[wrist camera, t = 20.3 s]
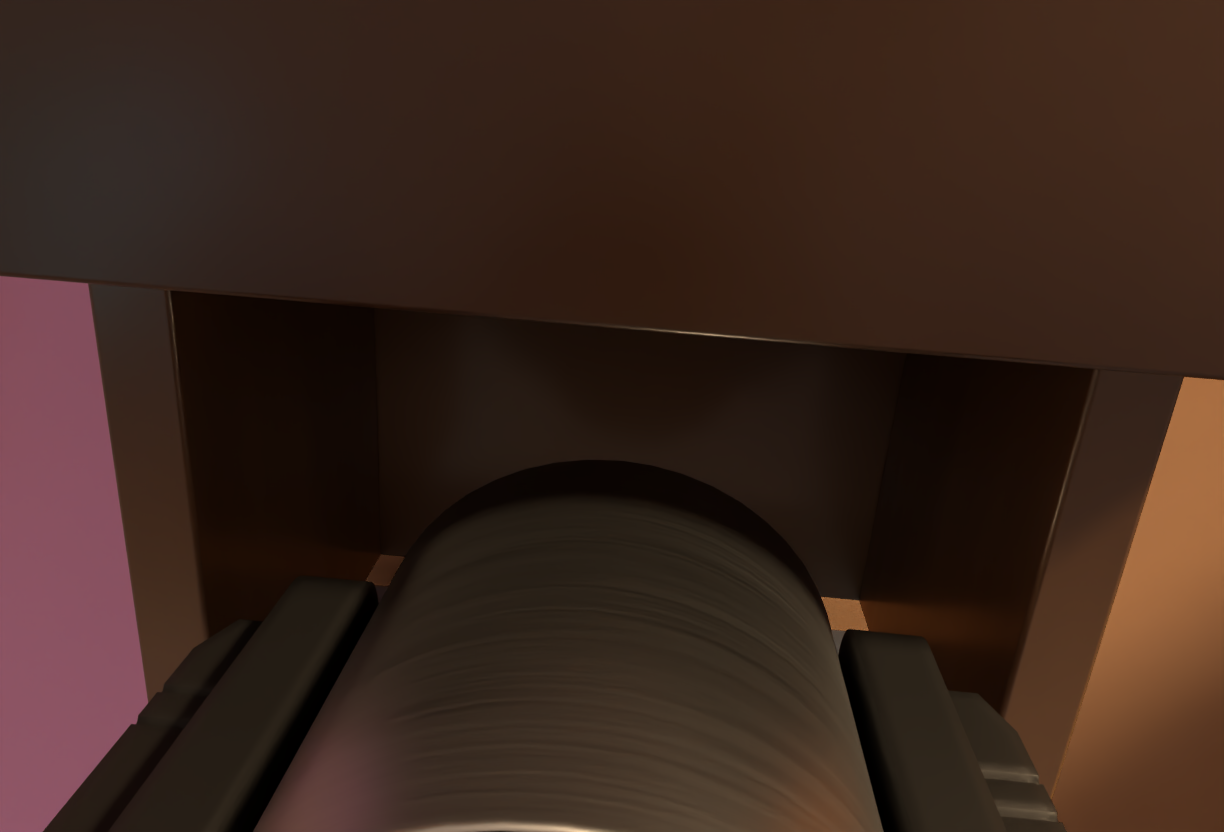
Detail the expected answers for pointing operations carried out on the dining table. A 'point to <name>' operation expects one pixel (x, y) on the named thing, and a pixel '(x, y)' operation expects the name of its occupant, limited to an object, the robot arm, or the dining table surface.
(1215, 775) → the dining table surface
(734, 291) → the cabinet
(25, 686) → the platter
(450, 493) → the drawer
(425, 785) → the tin
